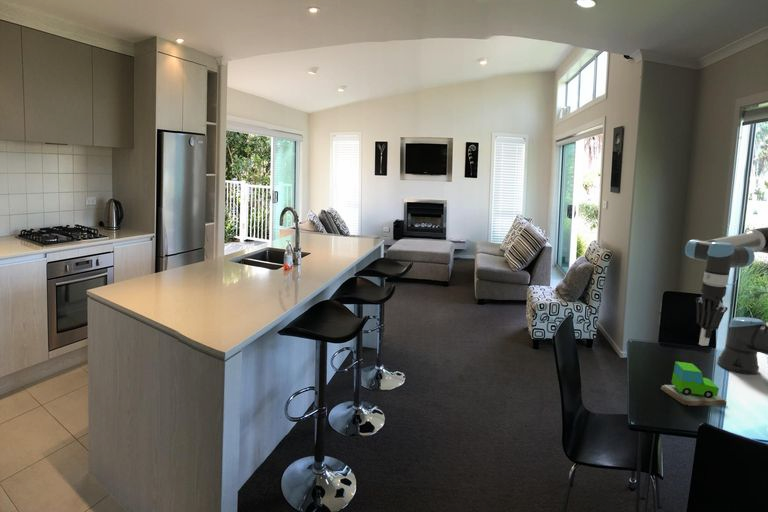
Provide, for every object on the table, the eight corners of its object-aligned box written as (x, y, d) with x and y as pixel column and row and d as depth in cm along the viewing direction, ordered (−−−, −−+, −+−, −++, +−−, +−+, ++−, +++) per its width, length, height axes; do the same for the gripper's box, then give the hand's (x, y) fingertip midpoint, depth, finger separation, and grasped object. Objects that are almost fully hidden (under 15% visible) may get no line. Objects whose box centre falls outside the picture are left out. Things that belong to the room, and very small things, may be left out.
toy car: (718, 401, 181) (724, 375, 179) (680, 395, 184) (684, 371, 182) (706, 388, 191) (711, 364, 189) (669, 384, 193) (674, 360, 191)
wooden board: (700, 389, 195) (701, 384, 195) (725, 405, 182) (727, 400, 182) (660, 389, 193) (661, 384, 193) (684, 405, 180) (685, 400, 180)
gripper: (692, 279, 185) (682, 338, 190) (719, 288, 172) (707, 351, 177) (710, 279, 186) (699, 338, 191) (738, 289, 173) (726, 351, 178)
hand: (703, 344), depth 184 cm, fingers closed
